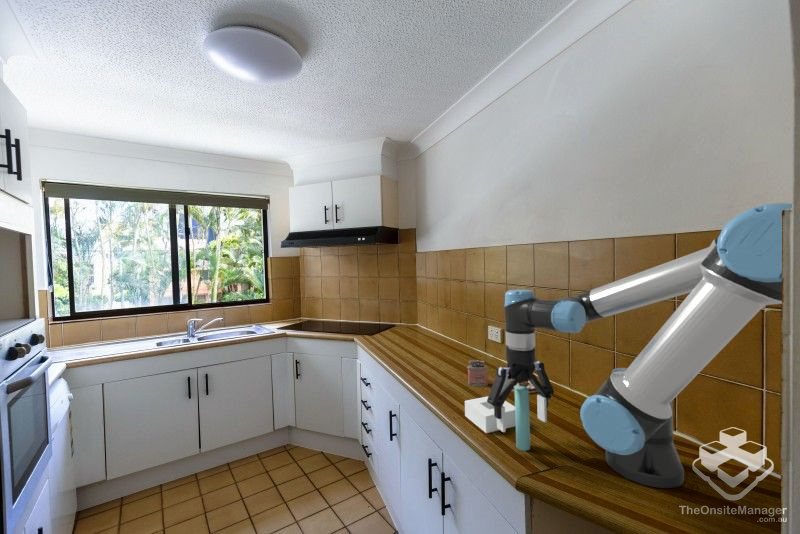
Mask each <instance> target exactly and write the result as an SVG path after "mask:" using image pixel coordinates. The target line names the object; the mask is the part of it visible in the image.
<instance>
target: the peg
mask: <svg viewBox="0 0 800 534" xmlns="http://www.w3.org/2000/svg"><path fill="white" fill-rule="evenodd" d="M514 389H515V392H514V406H515V422H516V426H515V447H516V449H518V450H520V451H523V452H526V451H529V450H531V429H530V428H531V427H530V423H531V422H530V393H529V389H528V388H527V387H524V386H516V387H515V388H514Z"/></svg>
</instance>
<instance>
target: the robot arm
mask: <svg viewBox="0 0 800 534" xmlns="http://www.w3.org/2000/svg"><path fill="white" fill-rule="evenodd" d="M792 204H793V203H785V202H781V203H778V202H777V203H768V204H763V205H759V206H758V205H757V206H756V207H753V208H749V209H747V210H745V211H743V212H741V213H739V214H737V215H736V216H735V217H732V218H731V219H730V220H729V221H728V222H727V223H726V224H725V225H724V227H722V229H721V231H720V234H719V235H718V237H717V238H715V239H713V240H712V241H711V243H710V245H709V246H708V247H705V248H703V249H700V250H697V251H695V252H692V253H689V254H686V255H683V256H681V257H679V258H676V259H673V260H670V261H668V262H665V263H661V264H659V265H656V266H654V267H651V268H647V269H645V270H643V271H639V272H637V273H634V274H632V275H629V276H627V277H624V278H621V279H618V280H615V281H613V282H612V281H611V282H610V283H607V284H605V285H604V284H603V285H601V286H599V287H596V288H593V289H590V290H588V291H585V292H582V293H580V294H579V293H578V294H576V295H573V296H569V297H563V298H558V299H544V298H543V299H542V298H536V297H535V292H534V291H533V290H532V289H530V290H529V289H509V290H507V291H506V292H505V294H504V306H503V307H504V316H505V317H504V319H505V327H504V328H505V345H506V347H505V359H506V362H507V365H506V367H502V366H497V367H496V373H495V378H494V381H493V383H492V385H491V389H490V392H489V394H488V399H487V402H488V403H490V404H491V405H493V406H494V416H495V417H496V418H497V428H498V429H499V430H498V431H501V432H503V433H506V430H507V428H506V429H505V407H504V406H502V405H503V404H504V402H505V401H507V399H508V397H509V395H510V393H511V392H512V391H511V390H512V389H513V387H514V386H516V385H517V383H522V382H528V380H529V381H530V383H531V384H532V385H533V386H534V387H535V389H536V390H537V393H538V394H537V395H536V402H537V403H536V404H537V406H536V407H537V411H536V413H537V414H536V415H537V419H539V421H541V422H544V423H547V422H548V416H547V415H548V414H547V413H548V412H547V409H548V408H549V399H551V398H552V395H554V394H555V390H554V388H553V386H552V383H551V381H550V379H549V377H548V375H547V372H546V369H545V363H544V362H541V361H539V360H537V359H536V349H535V347H536V329H543V330H547V331H549V330H550V331H555V332H560V333H562V334H563V333H564V334H566V333H569V334H578V333H580V332H581V331H582V330H583V328H584V327H585V325H586V324H587V323H592V322H594V321H597V320H600V319H603V318H606V317H610V316H614V315H617V314H621V313H623V312H627V311H630V310H634V309H638V308H640V307H641V308H642V307H645V306H649V305H652V304H655V303H659V302H662V301H665V300H669V299H672V298H676V297H679V296H682V295H687V294H688V295H687V296H686V297H685V298H684V300H683V301H682V302H681V303H680V305H679V306H678V307H677V308H676V309H675V310H674V311H673V313H672V314H671V315H670V317H669V318H668V319H667V320H666V321H665V323H664V324H663V325H662V326H661V327H660V328H659V330H658V331H657V333H655V335H653V337H652V338H651V340H650V341H648V343H647V344H646V345H645V347H643V349H642V350H641V352H640V353H639V354H638V355H637V356H636V357H635V359H634V360H633V361H632V362H631V363H630V365H629V366H628V367H627V368H626V367H617V368H614V369H612V371H611V374H610V376H609V377H608V378H607V379H606V380H605V381H604V382H603V384H602V385H601V386H600V387H599V389H597V391H596V392H595V393H594V394H593V395H591V396H589V397H587V398H586V399H585V400H584V402H583V403H582V405H581V407H580V410H579V411H580V413H579V414H580V420H581V423H582V426H583V428H584V430H585V432H586V434H587V435H588V436H589V437H590V439H592V441H593V442H594V443H596V444H597V445H598V447H601V448H602V449H604V450H605V451H604V452H605V461H606V463H607V465H608V466H609V467H610V468H611V469H612V470H613V471H615V472H616V473H617V474H618V475H620V476H622V477H623V478H626V479H628V480H630V481H632V482H635V483H638V484H640V485H643V486H648V487H651V488H652V487H653V488H657V489H658V488H659V489H673V488H674V489H675V488H677V487H680V486H682V485H683V483H684V481H685V470H684V466H683V464H682V461H681V460H680V456H679V454H678V451H677V449H676V447H675V443H674V423H673V421H674V420H673V419H674V417H673V416H674V415H673V400H674V399H675V398H676V397H677V396H678V395H679V394H680V393H681V392H682V391H683V390H684V389H685V388H686V387H687V386H688V385H690V383H691V382H692V381H693V380H694V378H696V376H697V375H698V374H699V373H700V372H701V371H702V370H704V369H705V368H706V367H707V365H708V364H709V363H710V362H711V361H712V360H713V359H714V358H715V357H716V356H717V355H718V354H719V353H720V352H721V351H722V350H723V349H724V348H725V347H726V346H727V345H728V344H729V343H730V342H731V340H733V339H734V338H735V336H737V335H738V333H739V332H740V331H741V330H742V329H743V328H744V327H745V326H746V325H747V324H748V323H749V322H750V321H751V320H752V319H753V318H754V317H755V316H756V315H757V314H758V313H759V312H760V311H761V310H762V309H763V308H764V307H765V306H771V305H779V304H783V303H782V223H781V212H782V210H786V209H791V208H792ZM534 372H535V373H536V375H537V377H538V378H537V377H536V375H535V374H534ZM511 379H512V380H513V381H512V380H511ZM538 379H539V380H538Z"/></svg>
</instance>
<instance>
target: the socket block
mask: <svg viewBox="0 0 800 534" xmlns="http://www.w3.org/2000/svg"><path fill="white" fill-rule="evenodd" d="M488 396H489V395H488ZM488 396H487V395H486V396H483V397H477V398H471V399H469V400H468V399H467V400H464V416H465V417H466V418H467V419H468V420H469V421H471V422H472V423H473V424H475V425H476V426H477V427H478V428H479V429H480V430H482V432H484V433H485V434H489V433H493V432H496V431H497V432H498V431H500V430H499V429H498V428H497V418H496V417H495V416H494V406H493V405H491V404H490V403H488V402H487V399H488ZM502 406H504V407H505V429H506V430H507V429H509V428H513V427H515V428H516V422H515V405H513V404H511V403H510V402H509V401H507V400H505V402H504V404H503V405H502Z"/></svg>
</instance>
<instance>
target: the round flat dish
mask: <svg viewBox="0 0 800 534" xmlns="http://www.w3.org/2000/svg"><path fill="white" fill-rule="evenodd" d="M510 380H512V378H511V379H510ZM512 381H513V380H512ZM516 386H524V387H527V388H528V389H529V394H535V393H538V391H537V390H536V389H535V387H534V386H533V385H532V384H531V383H530V381H529V380H528V382H522V383H517V385H516ZM516 386H514V387H513V389H512V390H511V392H512V393H515V389H514V388H515V387H516Z"/></svg>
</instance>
